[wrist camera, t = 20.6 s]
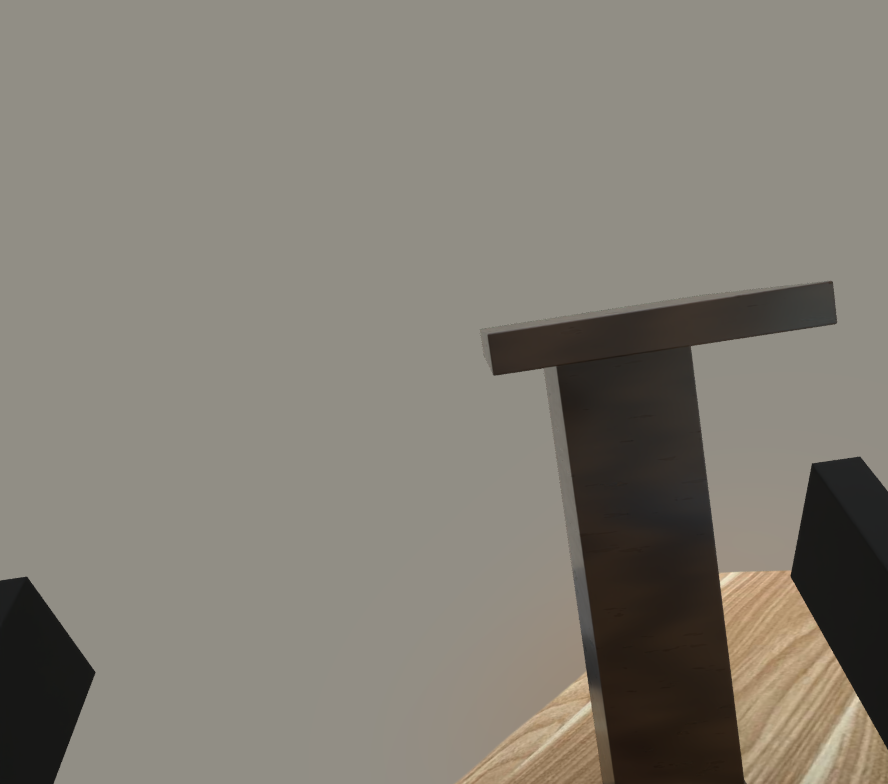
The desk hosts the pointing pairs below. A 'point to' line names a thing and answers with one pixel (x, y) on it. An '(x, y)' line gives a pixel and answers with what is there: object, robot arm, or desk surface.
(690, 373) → the stand
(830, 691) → the desk surface
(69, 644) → the robot arm
